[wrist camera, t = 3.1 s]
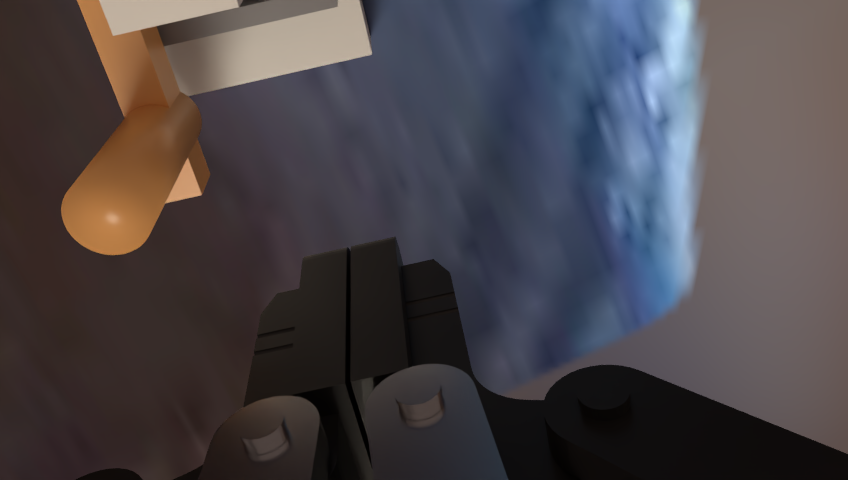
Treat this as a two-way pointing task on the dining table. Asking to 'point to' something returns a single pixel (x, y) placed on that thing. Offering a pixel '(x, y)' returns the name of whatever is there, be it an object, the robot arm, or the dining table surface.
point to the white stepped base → (263, 41)
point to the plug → (157, 12)
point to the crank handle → (135, 145)
